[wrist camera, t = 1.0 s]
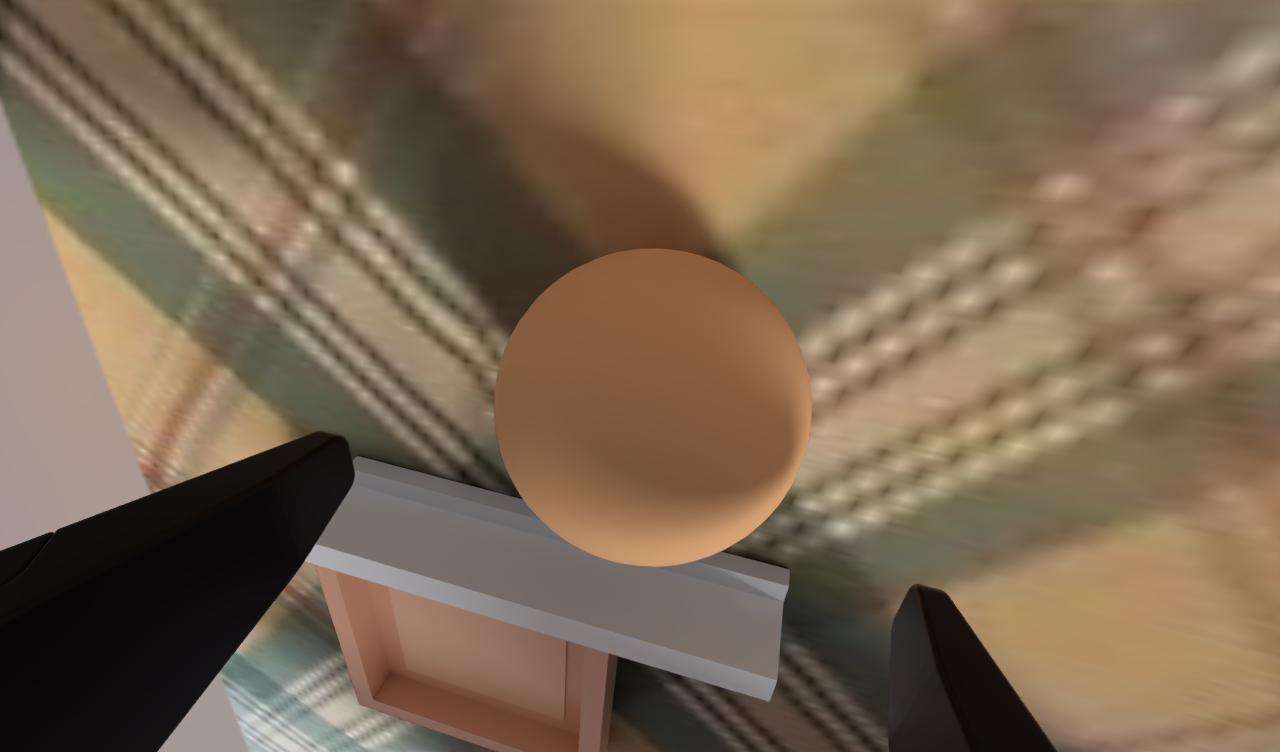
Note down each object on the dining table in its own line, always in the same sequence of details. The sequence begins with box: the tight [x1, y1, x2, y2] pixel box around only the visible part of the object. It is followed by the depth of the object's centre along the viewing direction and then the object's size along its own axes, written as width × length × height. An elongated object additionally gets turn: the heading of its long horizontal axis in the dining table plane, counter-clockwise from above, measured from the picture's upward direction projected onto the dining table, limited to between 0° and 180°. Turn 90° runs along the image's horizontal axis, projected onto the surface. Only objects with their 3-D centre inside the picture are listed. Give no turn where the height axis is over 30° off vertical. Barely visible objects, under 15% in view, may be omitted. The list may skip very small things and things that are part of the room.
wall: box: [305, 456, 790, 702], centre depth 18 cm, size 2×14×3 cm, turn 85°
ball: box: [494, 248, 812, 567], centre depth 12 cm, size 6×6×6 cm
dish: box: [315, 565, 618, 752], centre depth 23 cm, size 11×11×2 cm
